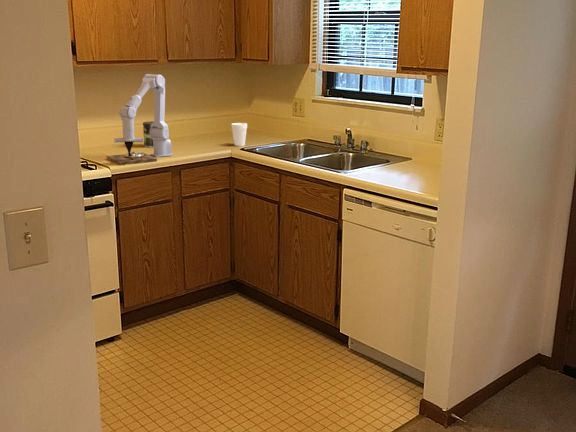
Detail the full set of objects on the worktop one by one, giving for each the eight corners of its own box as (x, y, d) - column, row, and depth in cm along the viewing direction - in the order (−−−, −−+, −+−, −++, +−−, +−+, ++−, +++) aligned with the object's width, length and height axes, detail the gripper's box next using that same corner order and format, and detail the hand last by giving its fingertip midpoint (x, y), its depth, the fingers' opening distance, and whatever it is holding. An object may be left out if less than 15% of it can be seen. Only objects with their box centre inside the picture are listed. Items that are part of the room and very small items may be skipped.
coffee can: (145, 148, 363) (144, 124, 359) (142, 145, 372) (141, 121, 368) (162, 147, 366) (161, 123, 362) (160, 144, 375) (159, 121, 371)
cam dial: (126, 154, 334) (125, 149, 333) (145, 154, 335) (144, 149, 334) (122, 159, 320) (122, 154, 319) (142, 159, 321) (142, 154, 321)
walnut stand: (142, 155, 341) (142, 147, 340) (156, 161, 326) (156, 152, 324) (107, 158, 331) (106, 150, 329) (120, 165, 315) (119, 156, 313)
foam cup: (229, 146, 372) (229, 124, 368) (234, 143, 381) (234, 122, 377) (244, 147, 370) (244, 125, 366) (249, 144, 378) (249, 123, 375)
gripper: (113, 131, 312) (115, 157, 315) (143, 130, 315) (144, 157, 319) (113, 129, 318) (115, 155, 322) (142, 129, 322) (143, 154, 326)
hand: (129, 156), depth 321 cm, fingers closed, pressing on cam dial
